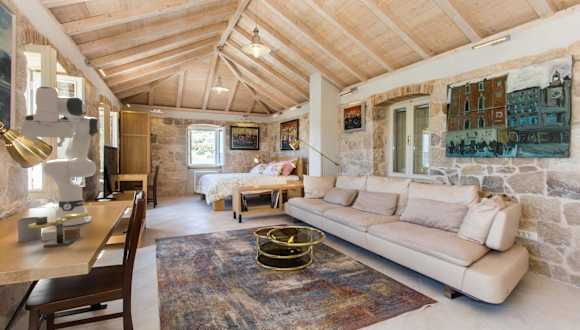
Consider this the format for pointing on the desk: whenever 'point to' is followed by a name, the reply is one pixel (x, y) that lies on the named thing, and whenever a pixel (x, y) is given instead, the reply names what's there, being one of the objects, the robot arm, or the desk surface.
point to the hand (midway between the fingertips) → (48, 146)
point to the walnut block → (72, 232)
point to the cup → (28, 230)
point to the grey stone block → (48, 235)
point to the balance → (57, 229)
